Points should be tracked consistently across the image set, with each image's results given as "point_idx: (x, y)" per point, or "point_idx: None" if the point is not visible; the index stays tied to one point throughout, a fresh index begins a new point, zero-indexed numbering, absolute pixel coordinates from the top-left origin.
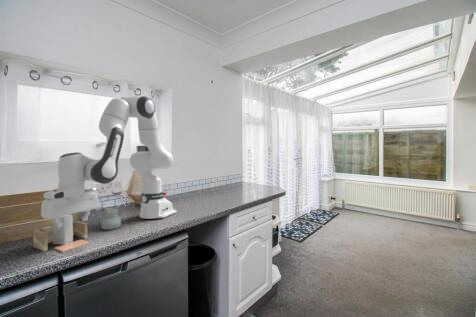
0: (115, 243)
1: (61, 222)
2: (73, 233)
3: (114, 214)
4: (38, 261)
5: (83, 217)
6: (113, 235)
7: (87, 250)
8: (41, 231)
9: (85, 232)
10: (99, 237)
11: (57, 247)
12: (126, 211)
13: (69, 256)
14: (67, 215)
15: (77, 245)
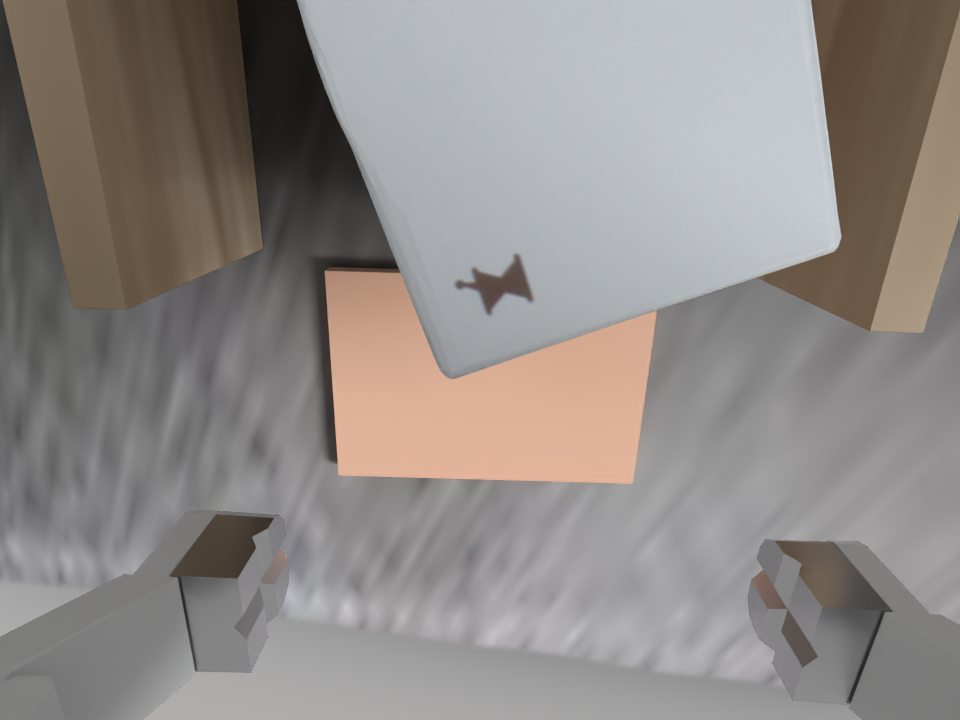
0: (732, 679)
1: (232, 645)
2: None
3: None
4: (119, 479)
5: (798, 667)
6: (950, 464)
7: (496, 614)
8: (60, 16)
9: (778, 283)
10: (838, 373)
11: (348, 307)
12: None
13: (336, 603)
14: (646, 227)
15: (505, 456)
